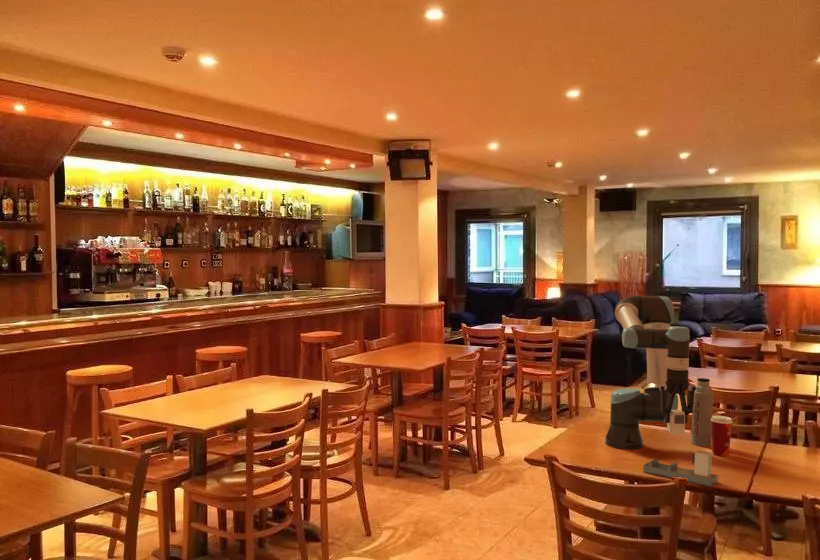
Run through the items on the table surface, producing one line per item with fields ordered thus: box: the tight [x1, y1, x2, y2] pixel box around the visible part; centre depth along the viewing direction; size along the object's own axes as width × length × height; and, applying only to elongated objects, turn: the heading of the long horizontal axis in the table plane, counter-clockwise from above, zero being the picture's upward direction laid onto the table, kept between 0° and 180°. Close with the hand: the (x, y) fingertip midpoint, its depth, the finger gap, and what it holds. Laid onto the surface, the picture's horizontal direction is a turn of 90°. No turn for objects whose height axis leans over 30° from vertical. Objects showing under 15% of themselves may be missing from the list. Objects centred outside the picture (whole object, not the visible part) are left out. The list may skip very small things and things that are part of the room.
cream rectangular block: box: [670, 409, 685, 435], centre depth 257 cm, size 6×4×8 cm
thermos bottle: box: [690, 377, 714, 448], centre depth 296 cm, size 8×8×28 cm
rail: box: [642, 449, 719, 488], centre depth 251 cm, size 24×7×10 cm, turn 50°
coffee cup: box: [711, 415, 734, 458], centre depth 281 cm, size 8×8×15 cm
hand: (675, 431), depth 258 cm, fingers closed on cream rectangular block, 4 cm apart
